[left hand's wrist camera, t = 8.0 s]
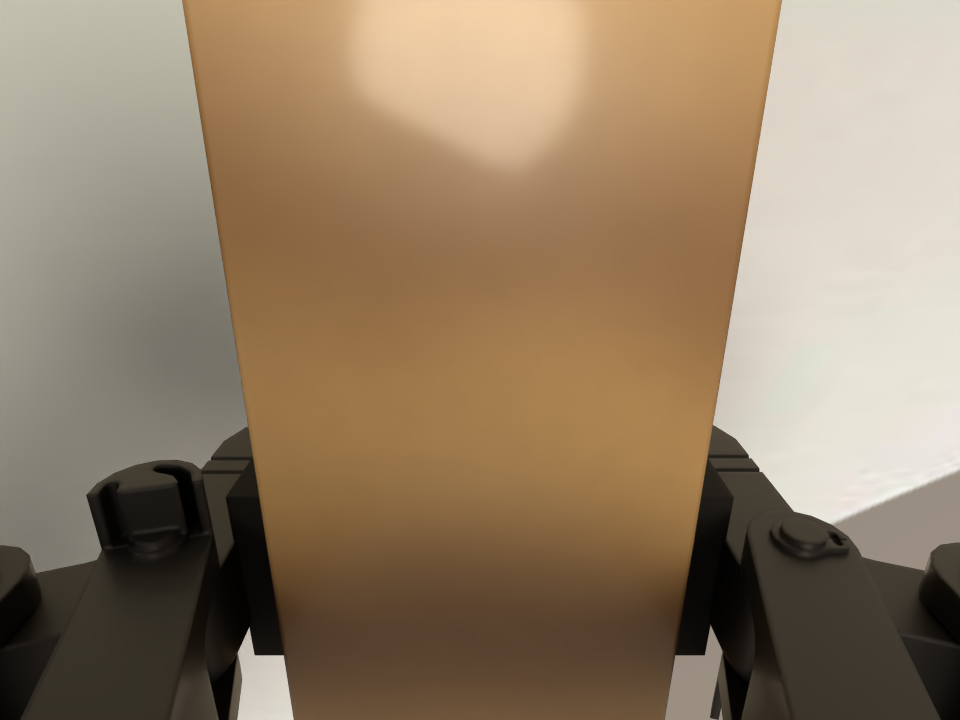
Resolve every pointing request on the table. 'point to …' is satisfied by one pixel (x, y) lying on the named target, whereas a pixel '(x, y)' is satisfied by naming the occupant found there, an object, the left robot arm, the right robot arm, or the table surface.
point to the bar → (480, 331)
